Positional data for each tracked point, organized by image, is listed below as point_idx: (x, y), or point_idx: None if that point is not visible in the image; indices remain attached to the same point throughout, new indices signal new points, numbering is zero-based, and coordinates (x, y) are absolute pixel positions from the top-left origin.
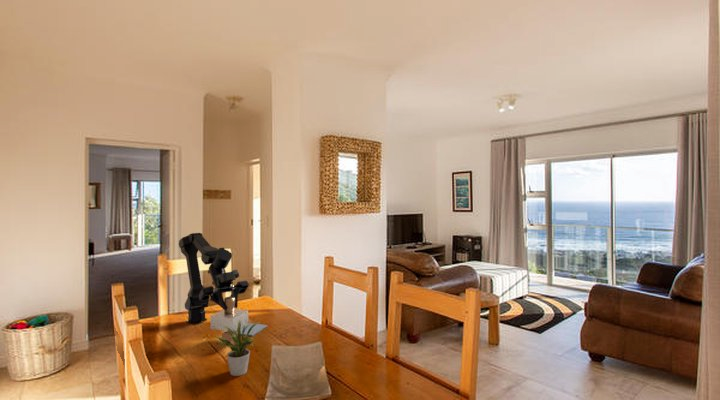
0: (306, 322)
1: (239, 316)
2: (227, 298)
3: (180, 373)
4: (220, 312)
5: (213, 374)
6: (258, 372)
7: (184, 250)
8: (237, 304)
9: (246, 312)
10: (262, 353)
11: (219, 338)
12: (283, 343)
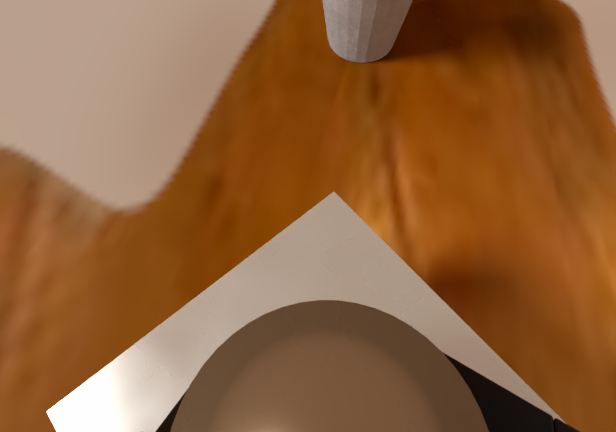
0: None
1: (234, 276)
2: (409, 419)
3: (599, 133)
4: None
5: (457, 64)
6: (293, 7)
7: None
8: (177, 402)
9: (95, 381)
10: (204, 143)
11: None
12: (41, 204)
